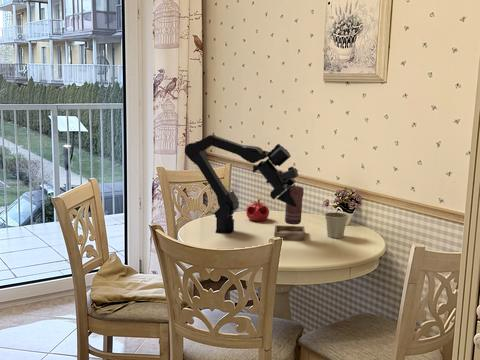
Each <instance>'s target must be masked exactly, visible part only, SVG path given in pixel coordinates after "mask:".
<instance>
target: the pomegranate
mask: <svg viewBox="0 0 480 360" xmlns="http://www.w3.org/2000/svg"><path fill="white" fill-rule="evenodd" d="M266 204H267V203H266V202H262V201H261V198H257V201H256V200H254V201H253V202H251V203H250V204H249V205H247V207H246V210H245V212H246V217H247V218H248V220H250V221H252V222H263V221H267V220H268V218H269V215H270V209H269V207H267V205H266Z"/></svg>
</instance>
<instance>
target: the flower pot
mask: <svg viewBox="0 0 480 360" xmlns="http://www.w3.org/2000/svg"><path fill="white" fill-rule="evenodd" d="M323 216H324V217H325V221H326V222H325V223H326V235H327V237H329V238H332V239H333V238H335V239H342V238H343V237H344V234H345V230H346V225H347V221H348V218H349V214H347V213H342V212H335V211H333V212H332V211H331V212H325V213H324V215H323Z"/></svg>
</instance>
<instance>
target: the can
mask: <svg viewBox="0 0 480 360" xmlns="http://www.w3.org/2000/svg"><path fill="white" fill-rule="evenodd" d="M289 188H290V195H291V197H292V198H293V200H294V202H295V203H296V205H297V206H296V207H293V206H291V205H289V204H287V203H285V210H284V212H285V213H284V215H285V216H284V222H285V223H286V224H288V225H292V226H297V225H300V224H301V222H302V212H303V211H302V210H303V197H304V194H305V193H304V192H305V189H304V187H302V186H298V185H295V186H293V185H292V186H288V188H287V189H289Z"/></svg>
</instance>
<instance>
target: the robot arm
mask: <svg viewBox="0 0 480 360" xmlns="http://www.w3.org/2000/svg"><path fill="white" fill-rule="evenodd" d="M184 147H185V148H184V154H185V156H187V158H188V159H189V161H190V162H192V163H193V164H195V166H197V167H198V169H199V170H200V172H201V173H202V175H203V177H204V178H205V180H206V181H207V183H208V185H209V186H210V189H212V191H213V193H214V194H215V196H216V200H217V204H218V207H219V208H218V209H217V210H215V211H214V213H213V214H214V217H215V218H216V221H215V222H216V224H215V225H216V230H215V233H223V234H225V233H226V234H232V233H233V231H234V230H235V218H234V216H233V215H234V213H235V211H237V210H238V208H239V207H240V205H239V204H240V203H239V198H238V197H237V196H236V193H235V191H233V190H232V191H229V190H227V188H226V187H225V185H224V184H223V182H222V180H221V179H220V178H219V176H218V175H217V173H216V171H215V170H214V168H213V167H212V165H211V163H210V161H209V160H208V156H207V152H206V150H207V149H209V148H210V147H213V148H214V147H215V148H218V149H220V150H224V151H226V152H229V153H232V154H235V155H237V156H239V157H241V158H242V159H243V160H245V161H246V162H247V163H249V164H254V165H252V173H253V174H254V173H257V172H259V173H260V174H261V175H262V176H263V178H264V179H265V180H266V181H265V182H266V184H270V186H271V187H272V191H270V193H269V196H270V198H272V200H273V201H274V200H275V199H276V200H278V201H280V202H283V203H285V204H286V203H287V204H289V205H291V206H293V207H296V206H297V205H296V203H295V202H294V200H293V198H292V197H291V195H290V188H289V189H287V188H288V186H296V183H297V181H296V180H295V178H297V177H299V173H298V171H299V170H298V169H297V168H296V167H294V166H293V165H292V166H290V167H288V168H287V170H286V171H284V172H283V171H282V170H278V169H277V166H278V167H281V166H282V165H283V164H284V163H285V162H287V161H288V160H289V159H290V158H291V153H290V152H289V151H288V149H286V148H285V147H284V146H282V145H281V144H280V143H277V144H276V145H275V146H274V147H273V148H272V149H271V150H270V151H268V150H264V149H262V147H259V146H256V145H255V146H253V145H248V144H247V145H244V144H242V143H241V144H240V143H238V142H235V141H232V140H229V139H226V138H224V137H220V136H217V135H215V134H210V135H209V134H208V136H206V137H204V138H202V139H200V140H198V141H195V142H190V143H187V145H186V146H184ZM266 158H267V159H266ZM258 162H259V163H258ZM256 163H258V164H256Z"/></svg>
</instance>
